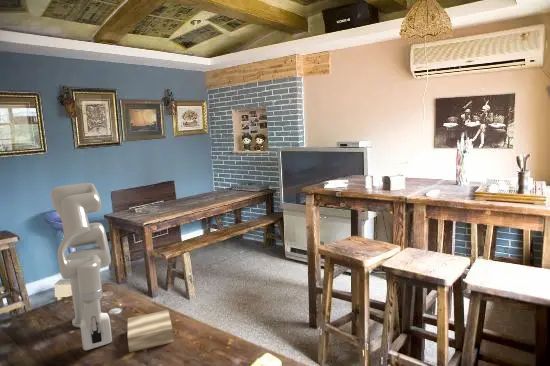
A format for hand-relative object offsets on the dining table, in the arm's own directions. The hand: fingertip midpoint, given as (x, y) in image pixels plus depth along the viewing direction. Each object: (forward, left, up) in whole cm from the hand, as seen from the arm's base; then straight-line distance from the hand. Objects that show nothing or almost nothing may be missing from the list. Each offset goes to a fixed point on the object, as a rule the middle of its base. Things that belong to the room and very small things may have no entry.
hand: (97, 338), depth 147 cm
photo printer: (0, 0, -3) cm, 3 cm away
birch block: (+3, +19, -3) cm, 20 cm away
